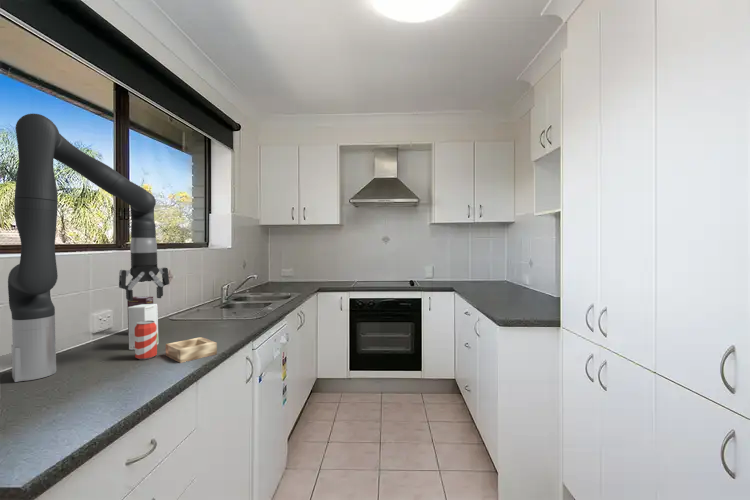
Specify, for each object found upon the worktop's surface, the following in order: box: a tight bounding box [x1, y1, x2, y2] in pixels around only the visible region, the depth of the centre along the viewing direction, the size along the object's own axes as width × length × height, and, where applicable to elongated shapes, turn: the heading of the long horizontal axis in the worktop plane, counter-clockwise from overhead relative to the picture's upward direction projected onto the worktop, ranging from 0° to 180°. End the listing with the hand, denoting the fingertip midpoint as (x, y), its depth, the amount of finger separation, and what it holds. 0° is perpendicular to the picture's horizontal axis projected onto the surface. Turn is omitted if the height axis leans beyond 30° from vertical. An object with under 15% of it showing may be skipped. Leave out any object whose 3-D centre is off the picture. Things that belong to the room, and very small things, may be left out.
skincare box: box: [127, 303, 159, 351], centre depth 137 cm, size 8×7×16 cm
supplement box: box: [126, 296, 154, 336], centre depth 156 cm, size 9×5×16 cm, turn 84°
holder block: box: [165, 336, 218, 364], centre depth 127 cm, size 12×12×4 cm
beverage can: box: [134, 321, 158, 361], centre depth 124 cm, size 6×6×12 cm
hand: (145, 299), depth 124 cm, fingers open, 8 cm apart
